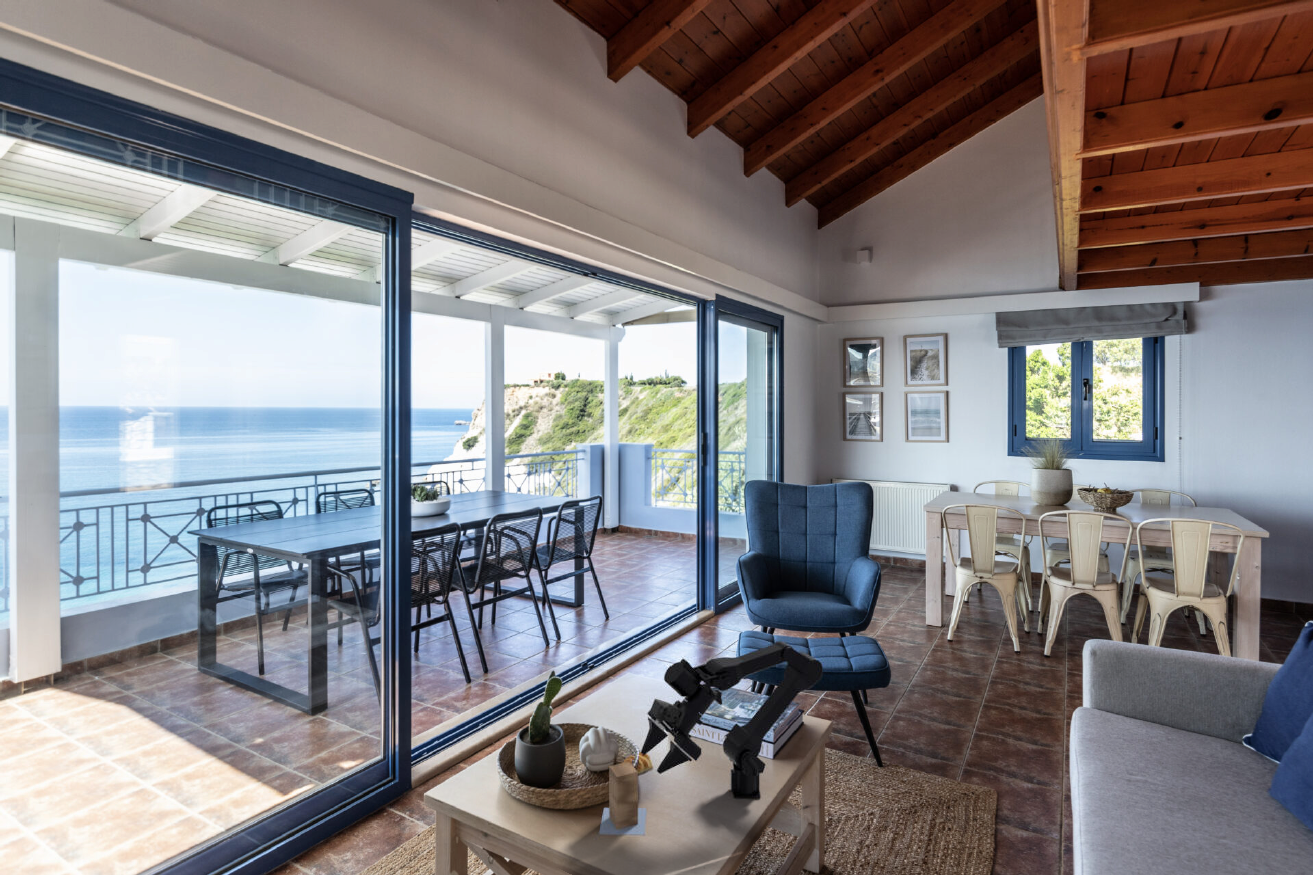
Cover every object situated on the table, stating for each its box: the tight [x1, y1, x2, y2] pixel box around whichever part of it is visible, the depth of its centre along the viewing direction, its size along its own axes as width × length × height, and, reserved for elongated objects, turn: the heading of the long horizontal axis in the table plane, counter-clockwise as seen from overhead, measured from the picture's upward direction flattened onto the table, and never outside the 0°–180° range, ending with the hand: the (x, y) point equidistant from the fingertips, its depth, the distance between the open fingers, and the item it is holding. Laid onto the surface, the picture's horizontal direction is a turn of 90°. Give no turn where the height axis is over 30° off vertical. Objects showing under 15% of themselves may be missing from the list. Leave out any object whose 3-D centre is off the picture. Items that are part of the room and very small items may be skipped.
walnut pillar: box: [608, 762, 639, 830], centre depth 157 cm, size 5×5×12 cm
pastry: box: [620, 751, 654, 775], centre depth 180 cm, size 9×7×4 cm
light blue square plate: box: [598, 807, 648, 836], centre depth 158 cm, size 10×10×1 cm
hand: (650, 762), depth 160 cm, fingers open, 9 cm apart
